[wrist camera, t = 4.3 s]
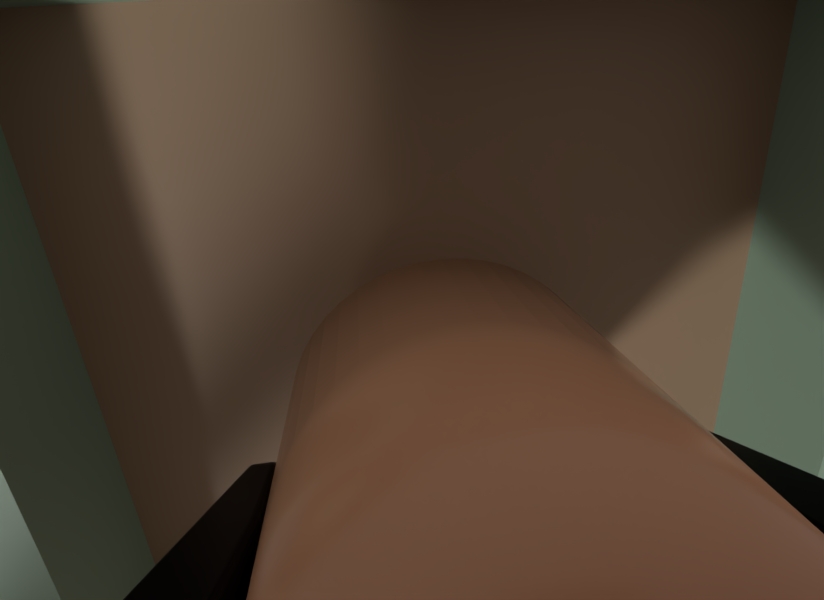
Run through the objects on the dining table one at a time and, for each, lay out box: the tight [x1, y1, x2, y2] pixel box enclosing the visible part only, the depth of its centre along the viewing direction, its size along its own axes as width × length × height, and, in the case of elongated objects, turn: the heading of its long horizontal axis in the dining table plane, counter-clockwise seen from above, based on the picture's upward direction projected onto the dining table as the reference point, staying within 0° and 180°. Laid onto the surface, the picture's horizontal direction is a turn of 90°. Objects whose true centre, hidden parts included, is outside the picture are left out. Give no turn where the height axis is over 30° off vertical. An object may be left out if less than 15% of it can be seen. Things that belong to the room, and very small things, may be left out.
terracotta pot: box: [246, 258, 824, 600], centre depth 6 cm, size 7×7×8 cm
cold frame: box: [0, 0, 824, 600], centre depth 10 cm, size 17×17×4 cm
